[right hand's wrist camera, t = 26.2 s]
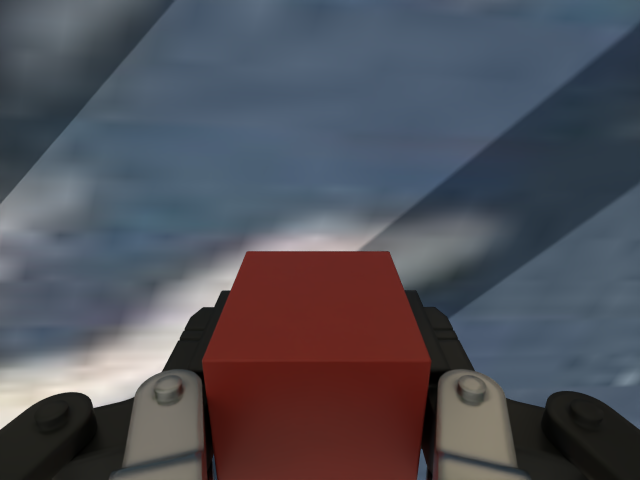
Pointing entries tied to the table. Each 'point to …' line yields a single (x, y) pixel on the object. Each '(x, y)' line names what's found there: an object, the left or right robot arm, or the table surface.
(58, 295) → the table surface
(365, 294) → the block
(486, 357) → the table surface
